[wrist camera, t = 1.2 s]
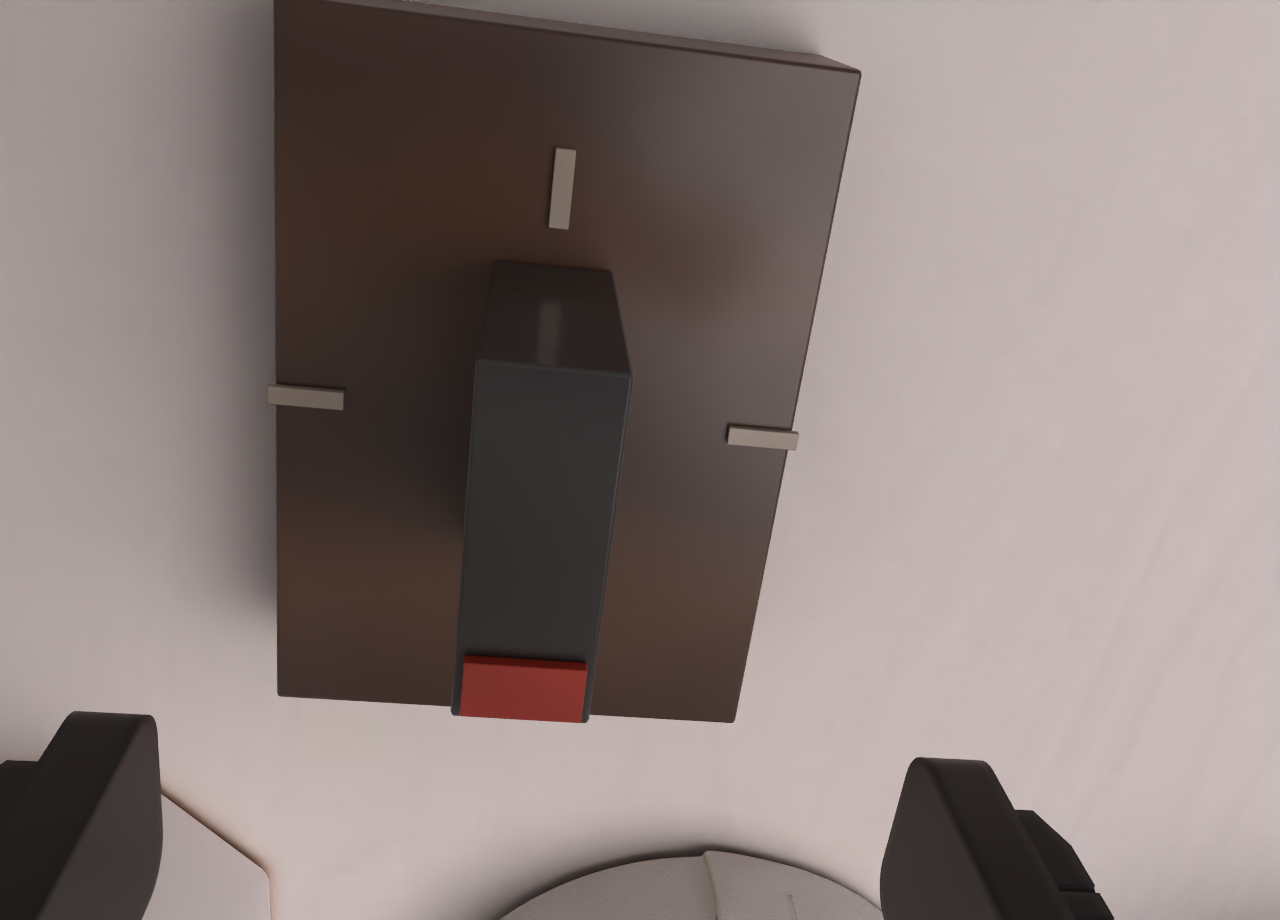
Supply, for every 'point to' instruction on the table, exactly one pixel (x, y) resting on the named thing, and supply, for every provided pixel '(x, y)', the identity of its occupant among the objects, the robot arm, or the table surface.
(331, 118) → the panel
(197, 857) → the cup
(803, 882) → the tape roll
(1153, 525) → the table surface
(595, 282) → the lock knob
